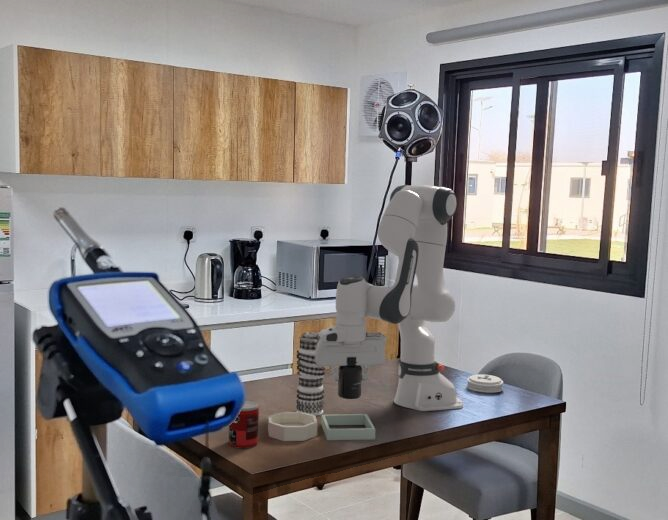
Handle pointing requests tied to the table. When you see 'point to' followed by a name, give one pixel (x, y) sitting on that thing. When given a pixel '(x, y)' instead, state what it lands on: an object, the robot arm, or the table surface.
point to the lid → (485, 383)
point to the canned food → (245, 426)
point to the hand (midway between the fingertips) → (350, 380)
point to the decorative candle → (309, 376)
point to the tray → (348, 433)
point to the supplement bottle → (350, 380)
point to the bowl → (292, 426)
